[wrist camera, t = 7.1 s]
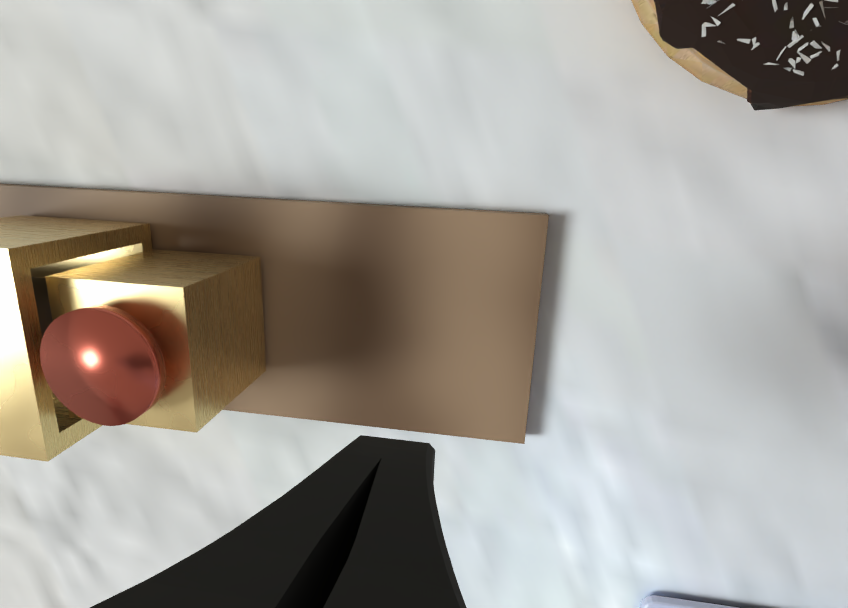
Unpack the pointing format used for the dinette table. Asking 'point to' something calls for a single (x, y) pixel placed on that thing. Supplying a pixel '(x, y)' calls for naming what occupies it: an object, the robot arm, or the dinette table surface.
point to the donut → (757, 46)
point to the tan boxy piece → (119, 332)
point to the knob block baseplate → (358, 301)
